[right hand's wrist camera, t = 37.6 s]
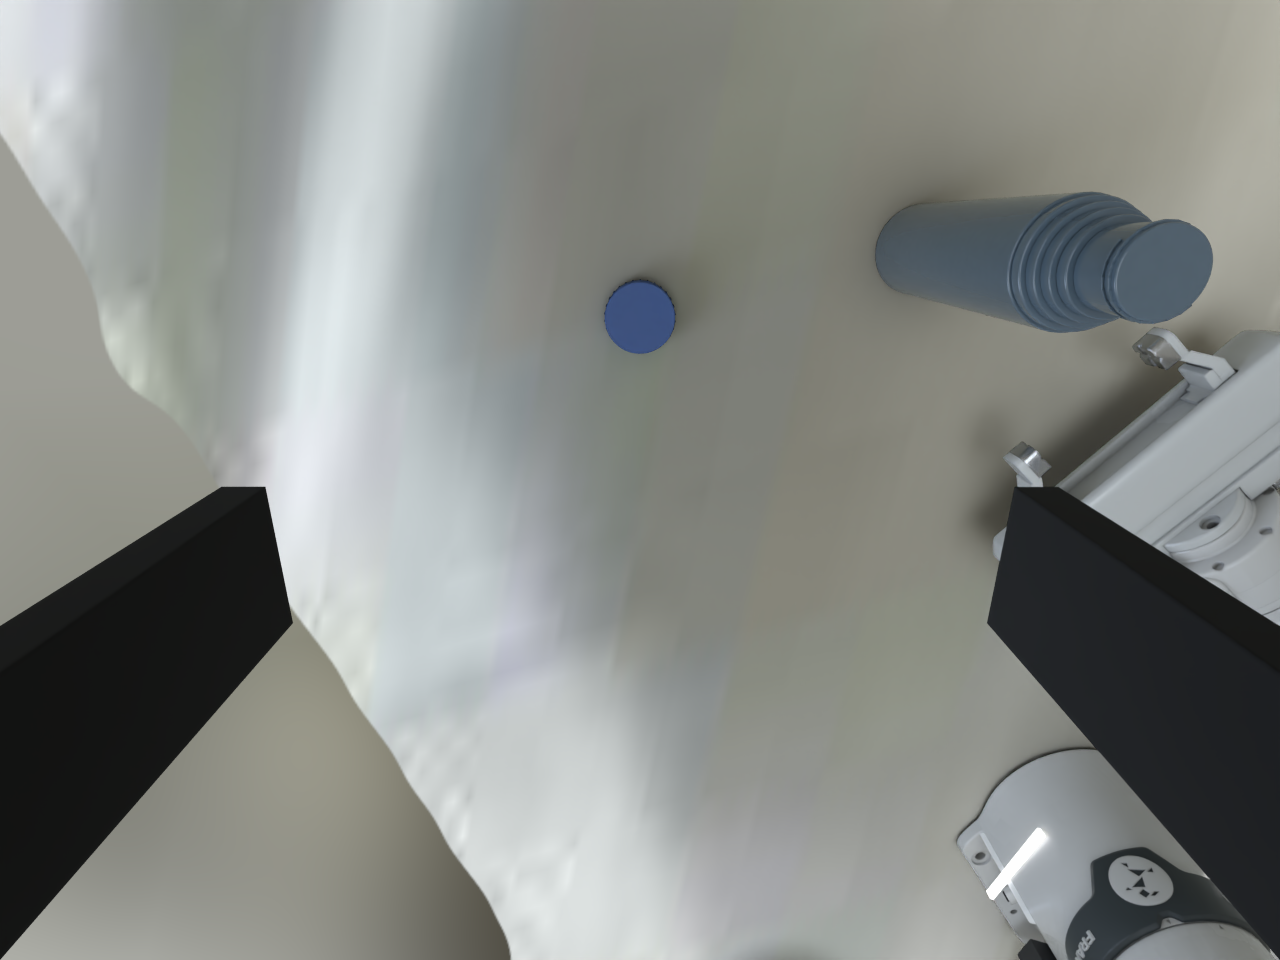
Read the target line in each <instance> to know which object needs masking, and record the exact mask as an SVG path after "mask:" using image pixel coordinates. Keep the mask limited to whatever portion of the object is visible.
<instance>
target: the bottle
mask: <svg viewBox="0 0 1280 960" xmlns="http://www.w3.org/2000/svg"><path fill="white" fill-rule="evenodd" d="M875 255H876V265H877V268H878V271H879V274H880V276H881V277H882V279H883V280H884V281H885V283H886V284H887V285H888V286H890V287H891V288H892V289H894V290H896V291H898V292H901V293H904V294H908V295H912V296H915V297H919V298H923V299H927V300H931V301H934V302H938V303H942V304H946V305H950V306H953V307H957V308H961V309H965V310H968V311H972V312H976V313H980V314H984V315H987V316H991V317H995V318H999V319H1003V320H1006V321H1010V322H1014V323H1018V324H1021V325H1025V326H1029V327H1033V328H1037V329H1040V330H1044V331H1048V332H1056V333H1066V332H1078V331H1084V330H1088V329H1091V328H1094V327H1097V326H1099V325H1103V324H1105V323H1108V322H1110V321H1113V320H1116V319H1118V318H1122V319H1125V320H1128V321H1131V322H1137V323H1145V324H1155V323H1159V322H1163V321H1168V320H1170V319H1172V318H1174V317H1176V316H1178V315H1181V314H1182V313H1183V312H1184V311H1186V310H1187V309H1188V308H1189V307H1191V306H1192V305H1191V304H1192V303H1193V302H1194V301H1195V300H1196V299H1197V298H1198V297H1199V295H1200V294H1201V293H1202V291H1203V290H1204V288H1205V286H1206V284H1207V282H1208V280H1209V277H1210V275H1211V271H1212V265H1213V254H1212V248H1211V245H1210V243H1209V241H1208V239H1207V237H1206V236H1205V235H1204V234H1203V233H1202V232H1201V231H1200V230H1199V229H1198V228H1196V227H1195V226H1192V225H1191V224H1190V223H1187V222H1184V221H1181V220H1176V219H1163V220H1158V221H1154V222H1152V221H1151V220H1150V219H1149V218H1148V217H1147V216H1145V215H1144V214H1143V213H1142V212H1141V211H1139V210H1138V209H1136V208H1135V207H1134V206H1133V205H1131V204H1130V203H1128V202H1127V201H1125V200H1123V199H1121V198H1118V197H1114V196H1111V195H1108V194H1104V193H1099V192H1077V193H1063V194H1049V195H1035V196H1022V197H1008V198H994V199H980V200H966V201H952V202H938V203H924V204H916V205H912V206H909V207H907V208H905V209H903V210H901V211H900V212H898V213H897V214H896V215H894V216H893V217H892V218H891V219H890V220H889V221H888V223H887V224H886V225H885V227H884V228H883V230H882V232H881V234H880V236H879V239H878V242H877V246H876V254H875Z"/></svg>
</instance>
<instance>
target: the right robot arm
mask: <svg viewBox="0 0 1280 960" xmlns="http://www.w3.org/2000/svg"><path fill="white" fill-rule="evenodd" d="M292 623H293V621H292V616H291V611H290V607H289V602H288V597H287V592H286V587H285V582H284V577H283V572H282V567H281V562H280V557H279V552H278V547H277V542H276V537H275V532H274V527H273V522H272V518H271V513H270V508H269V503H268V498H267V493H266V488H265V487H221V488H219V489H217V490H216V491H214V492H213V493H211V494H209V495H208V496H206V497H205V498H203V499H201V500H200V501H198V502H197V503H195V504H193V505H192V506H190V507H189V508H187V509H186V510H184V511H182V512H181V513H179V514H178V515H176V516H174V517H173V518H171V519H170V520H168V521H166V522H165V523H163V524H162V525H160V526H159V527H157V528H155V529H154V530H152V531H151V532H149V533H147V534H146V535H144V536H143V537H141V538H139V539H138V540H136V541H135V542H133V543H132V544H130V545H128V546H127V547H125V548H124V549H122V550H120V551H119V552H117V553H116V554H114V555H112V556H111V557H109V558H108V559H106V560H104V561H103V562H101V563H100V564H98V565H96V566H95V567H93V568H92V569H90V570H89V571H87V572H85V573H84V574H82V575H81V576H79V577H77V578H76V579H74V580H73V581H71V582H69V583H68V584H66V585H65V586H63V587H61V588H60V589H58V590H57V591H55V592H54V593H52V594H50V595H49V596H47V597H46V598H44V599H42V600H41V601H39V602H38V603H36V604H34V605H33V606H31V607H30V608H28V609H27V610H25V611H23V612H22V613H20V614H19V615H17V616H15V617H14V618H12V619H11V620H9V621H7V622H6V623H4V624H3V625H1V626H0V959H1V958H2V957H3V956H4V955H5V954H6V952H7V951H8V950H9V949H10V948H11V947H12V946H13V944H14V943H15V942H16V941H17V940H18V939H19V937H20V936H21V935H22V934H23V933H24V932H25V931H26V929H27V928H28V927H29V926H30V925H31V924H32V923H33V921H34V920H35V919H36V918H37V917H38V916H39V914H40V913H41V912H42V911H43V910H44V909H45V908H46V906H47V905H48V904H49V903H50V902H51V901H52V900H53V898H54V897H55V896H56V895H57V894H58V893H59V891H60V890H61V889H62V888H63V887H64V886H65V885H66V883H67V882H68V881H69V880H70V879H71V878H72V877H73V875H74V874H75V873H76V872H77V871H78V870H79V868H80V867H81V866H82V865H83V864H84V863H85V862H86V860H87V859H88V858H89V857H90V856H91V855H92V853H93V852H94V851H95V850H96V849H97V848H98V847H99V845H100V844H101V843H102V842H103V841H104V840H105V839H106V837H107V836H108V835H109V834H110V833H111V832H112V831H113V829H114V828H115V827H116V826H117V825H118V824H119V822H120V821H121V820H122V819H123V818H124V817H125V816H126V814H127V813H128V812H129V811H130V810H131V809H132V808H133V806H134V805H135V804H136V803H137V802H138V801H139V799H140V798H141V797H142V796H143V795H144V794H145V793H146V791H147V790H148V789H149V788H150V787H151V786H152V785H153V783H154V782H155V781H156V780H157V779H158V778H159V776H160V775H161V774H162V773H163V772H164V771H165V770H166V768H167V767H168V766H169V765H170V764H171V763H172V761H173V760H174V759H175V758H176V757H177V756H178V755H179V753H180V752H181V751H182V750H183V749H184V748H185V747H186V745H187V744H188V743H189V742H190V741H191V740H192V738H193V737H194V736H195V735H196V734H197V733H198V731H199V730H200V729H201V728H202V727H203V726H204V725H205V724H206V722H207V721H208V720H209V719H210V718H211V717H212V715H213V714H214V713H215V712H216V711H217V710H218V709H219V707H220V706H221V705H222V704H223V703H224V702H225V701H226V699H227V698H228V697H229V696H230V695H231V694H232V692H233V691H234V690H235V689H236V688H237V687H238V686H239V684H240V683H241V682H242V681H243V680H244V679H245V678H246V676H247V675H248V674H249V673H250V672H251V671H252V669H253V668H254V667H255V666H256V665H257V664H258V663H259V661H260V660H261V659H262V658H263V657H264V656H265V655H266V653H267V652H268V651H269V650H270V649H271V648H272V646H273V645H274V644H275V643H276V642H277V641H278V640H279V638H280V637H281V636H282V635H283V634H284V633H285V631H286V630H287V629H288V628H289V627H290V626H291V625H292ZM987 623H988V625H989V626H990V627H991V628H992V629H993V630H994V632H995V633H996V634H997V635H998V636H999V637H1000V638H1001V640H1002V641H1003V642H1004V643H1005V644H1006V645H1007V646H1008V648H1009V649H1010V650H1011V651H1012V652H1013V653H1014V655H1015V656H1016V657H1017V658H1018V659H1019V660H1020V661H1021V663H1022V664H1023V665H1024V666H1025V667H1026V668H1027V669H1028V671H1029V672H1030V673H1031V674H1032V675H1033V676H1034V678H1035V679H1036V680H1037V681H1038V682H1039V683H1040V684H1041V686H1042V687H1043V688H1044V689H1045V690H1046V691H1047V692H1048V694H1049V695H1050V696H1051V697H1052V698H1053V699H1054V701H1055V702H1056V703H1057V704H1058V705H1059V706H1060V707H1061V709H1062V710H1063V711H1064V712H1065V713H1066V714H1067V715H1068V717H1069V718H1070V719H1071V720H1072V721H1073V722H1074V724H1075V725H1076V726H1077V727H1078V728H1079V729H1080V730H1081V732H1082V733H1083V734H1084V735H1085V736H1086V737H1087V738H1088V740H1089V741H1090V742H1091V743H1092V744H1093V745H1094V747H1095V748H1096V749H1097V750H1098V751H1099V752H1100V753H1101V755H1102V756H1103V757H1104V758H1105V759H1106V760H1107V762H1108V763H1109V764H1110V765H1111V766H1112V767H1113V768H1114V770H1115V771H1116V772H1117V773H1118V774H1119V775H1120V776H1121V778H1122V779H1123V780H1124V781H1125V782H1126V783H1127V785H1128V786H1129V787H1130V788H1131V789H1132V790H1133V791H1134V793H1135V794H1136V795H1137V796H1138V797H1139V798H1140V799H1141V801H1142V802H1143V803H1144V804H1145V805H1146V806H1147V808H1148V809H1149V810H1150V811H1151V812H1152V813H1153V814H1154V816H1155V817H1156V818H1157V819H1158V820H1159V821H1160V822H1161V824H1162V825H1163V826H1164V827H1165V828H1166V829H1167V831H1168V832H1169V833H1170V834H1171V835H1172V836H1173V837H1174V839H1175V840H1176V841H1177V842H1178V843H1179V844H1180V845H1181V847H1182V848H1183V849H1184V850H1185V851H1186V852H1187V854H1188V855H1189V856H1190V857H1191V858H1192V859H1193V860H1194V862H1195V863H1196V864H1197V865H1198V866H1199V867H1200V868H1201V870H1202V871H1203V872H1204V873H1205V874H1206V875H1207V877H1208V878H1209V879H1210V880H1211V881H1212V882H1213V883H1214V885H1215V886H1216V887H1217V888H1218V889H1219V890H1220V891H1221V893H1222V894H1223V895H1224V896H1225V897H1226V898H1227V900H1228V901H1229V902H1230V903H1231V904H1232V905H1233V906H1234V908H1235V909H1236V910H1237V911H1238V912H1239V913H1240V914H1241V916H1242V917H1243V918H1244V919H1245V920H1246V921H1247V923H1248V924H1249V925H1250V926H1251V927H1252V928H1253V929H1254V931H1255V932H1256V933H1257V934H1258V935H1259V936H1260V937H1261V939H1262V940H1263V941H1264V942H1265V943H1266V944H1267V946H1268V947H1269V948H1270V949H1271V950H1272V951H1273V952H1274V954H1275V955H1276V956H1277V957H1278V958H1279V959H1280V626H1279V625H1277V624H1276V623H1274V622H1273V621H1271V620H1269V619H1268V618H1266V617H1265V616H1263V615H1261V614H1260V613H1258V612H1257V611H1255V610H1254V609H1252V608H1250V607H1249V606H1247V605H1246V604H1244V603H1242V602H1241V601H1239V600H1238V599H1236V598H1234V597H1233V596H1231V595H1230V594H1228V593H1226V592H1225V591H1223V590H1222V589H1220V588H1219V587H1217V586H1215V585H1214V584H1212V583H1211V582H1209V581H1207V580H1206V579H1204V578H1203V577H1201V576H1199V575H1198V574H1196V573H1195V572H1193V571H1191V570H1190V569H1188V568H1187V567H1185V566H1184V565H1182V564H1180V563H1179V562H1177V561H1176V560H1174V559H1172V558H1171V557H1169V556H1168V555H1166V554H1164V553H1163V552H1161V551H1160V550H1158V549H1156V548H1155V547H1153V546H1152V545H1150V544H1149V543H1147V542H1145V541H1144V540H1142V539H1141V538H1139V537H1137V536H1136V535H1134V534H1133V533H1131V532H1129V531H1128V530H1126V529H1125V528H1123V527H1122V526H1120V525H1118V524H1117V523H1115V522H1114V521H1112V520H1110V519H1109V518H1107V517H1106V516H1104V515H1102V514H1101V513H1099V512H1098V511H1096V510H1094V509H1093V508H1091V507H1090V506H1088V505H1087V504H1085V503H1083V502H1082V501H1080V500H1079V499H1077V498H1075V497H1074V496H1072V495H1071V494H1069V493H1067V492H1066V491H1064V490H1063V489H1061V488H1059V487H1015V488H1014V493H1013V498H1012V503H1011V508H1010V513H1009V518H1008V522H1007V527H1006V532H1005V537H1004V542H1003V547H1002V552H1001V557H1000V562H999V567H998V572H997V577H996V582H995V587H994V592H993V597H992V602H991V607H990V611H989V616H988V621H987Z"/></svg>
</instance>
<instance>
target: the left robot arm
mask: <svg viewBox="0 0 1280 960" xmlns="http://www.w3.org/2000/svg"><path fill="white" fill-rule="evenodd" d="M1132 348H1133V349H1134V351H1135V352H1138V353H1140V358H1141V359H1142V360H1143V361H1144V362H1145V364H1147V365H1151V366H1158V367H1159V368H1161V369H1165V370H1168V369H1169V368H1170V367H1171V366H1173V365H1174V364H1175V363H1176V362H1178V361H1179V360H1180V361H1184V362H1186V363H1184V364H1183V365H1181V366H1180V367H1179V369H1178V371H1179V372H1180V373H1181V374H1182V376H1183V377H1184V379H1183V380H1182V381H1181V382H1179V383H1178V384H1177V385H1176V386H1175V387H1173V388H1172V389H1171V390H1170V391H1169V392H1167V393H1166V394H1165V395H1164V396H1163V397H1161V398H1160V399H1159V400H1158V401H1157V402H1155V403H1154V404H1153V405H1152V406H1151V407H1149V408H1148V409H1147V410H1146V411H1145V412H1143V413H1142V414H1141V415H1140V416H1139V417H1137V418H1136V419H1135V420H1134V421H1133V422H1131V423H1130V424H1129V425H1128V426H1127V427H1125V428H1124V429H1123V430H1122V431H1121V432H1119V433H1118V434H1117V435H1116V436H1115V437H1113V438H1112V439H1111V440H1110V441H1109V442H1107V443H1106V444H1105V445H1104V446H1103V447H1101V448H1100V449H1099V450H1098V451H1097V452H1095V453H1094V454H1093V455H1092V456H1091V457H1089V458H1088V459H1087V460H1086V461H1085V462H1083V463H1082V464H1081V465H1080V466H1079V467H1077V468H1076V469H1075V470H1074V471H1073V472H1071V473H1070V474H1069V475H1068V476H1067V477H1065V478H1064V479H1063V480H1062V481H1061V482H1059V483H1058V484H1057V485H1056V486H1055V487H1059V488H1061V489H1063V490H1064V491H1066V492H1067V493H1069V494H1071V495H1072V496H1074V497H1075V498H1077V499H1079V500H1080V501H1082V502H1083V503H1085V504H1087V505H1088V506H1090V507H1091V508H1093V509H1094V510H1096V511H1098V512H1099V513H1101V514H1102V515H1104V516H1106V517H1107V518H1109V519H1110V520H1112V521H1114V522H1115V523H1117V524H1118V525H1120V526H1122V527H1123V528H1125V529H1126V530H1128V531H1129V532H1131V533H1133V534H1134V535H1136V536H1137V537H1139V538H1141V539H1142V540H1144V541H1145V542H1147V543H1149V544H1150V545H1152V546H1153V547H1155V548H1156V549H1158V550H1160V551H1161V552H1163V553H1164V554H1166V555H1168V556H1169V557H1171V558H1172V559H1174V560H1176V561H1177V562H1179V563H1180V564H1182V565H1184V566H1185V567H1187V568H1188V569H1190V570H1191V571H1193V572H1195V573H1196V574H1198V575H1199V576H1201V577H1203V578H1204V579H1206V580H1207V581H1209V582H1211V583H1212V584H1214V585H1215V586H1217V587H1219V588H1220V589H1222V590H1223V591H1225V592H1226V593H1228V594H1230V595H1231V596H1233V597H1234V598H1236V599H1238V600H1239V601H1241V602H1242V603H1244V604H1246V605H1247V606H1249V607H1250V608H1252V609H1254V610H1255V611H1257V612H1258V613H1260V614H1261V615H1263V616H1265V617H1266V618H1268V619H1269V620H1271V621H1273V622H1274V623H1276V624H1277V625H1279V626H1280V494H1279V493H1278V492H1277V490H1278V489H1279V488H1280V332H1276V331H1266V330H1246V331H1242V332H1240V333H1239V334H1237V335H1236V336H1235V337H1233V338H1232V339H1231V340H1230V341H1229V342H1227V343H1226V344H1225V345H1224V346H1223V347H1221V348H1220V349H1219V350H1218V351H1217V352H1215V353H1214V354H1213V355H1209V354H1205V353H1200V352H1196V351H1192V350H1188V349H1186V347H1185V346H1184V345H1183V344H1182V342H1181V341H1180V340H1179V339H1178V338H1177V336H1176V335H1175V334H1174V333H1172V332H1171V331H1169V330H1167V329H1161V328H1156V327H1154V328H1152V329H1151V330H1150V331H1149V332H1148V333H1147V334H1146V335H1144V336H1143V337H1142V338H1141V339H1140V340H1139V341H1137V342H1136V343H1135V344H1134V345H1133V346H1132ZM1003 458H1004V460H1005V461H1006V462H1007V463H1008V464H1009V465H1010V466H1011V467H1012V468H1013V469H1014V470H1015V471H1016V472H1017V473H1018V474H1017V475H1016V477H1017V487H1043V482H1042V477H1041V476H1042V475H1043V474H1044V473H1046V472H1047V471H1048V470H1049V469H1050V468H1051V465H1050V464H1049V463H1048V462H1047V461H1046V460H1045V459H1043V458H1041V455H1040V454H1039V453H1038V452H1037V451H1036V450H1035V449H1034V448H1033V447H1031V446H1030V445H1026V443H1024V442H1021V443H1019V444H1018V445H1017V446H1016V447H1015V448H1013V449H1012V450H1011V451H1010V452H1009V453H1008V454H1007V455H1005V456H1004V457H1003ZM1006 527H1007V526H1006ZM1006 527H1005V528H1004V529H1003V530H1001V531H1000V532H999V533H998V534H997V535H996V536H995V537H994V539H993V555H994V556H995V557H996V558H997V559H998V560H999V561H1000V557H1001V552H1002V547H1003V542H1004V537H1005V532H1006ZM957 845H958V847H959V849H960V850H961V852H962V853H963V855H964V856H965V858H966V859H967V861H968V862H969V864H970V865H971V867H972V868H973V870H974V871H975V873H976V875H977V876H978V878H979V879H980V881H981V882H982V884H983V885H984V887H985V888H986V890H987V893H988V895H989V897H990V899H993V900H994V902H995V903H996V905H997V906H998V908H999V909H1000V911H1001V912H1002V914H1003V915H1004V917H1005V918H1006V920H1007V921H1008V923H1009V924H1010V926H1011V927H1012V929H1013V930H1014V932H1015V933H1016V935H1017V936H1018V938H1019V939H1020V940H1021V941H1022V942H1023V943H1025V944H1026V945H1025V946H1024V947H1023V948H1022V949H1021V951H1020V952H1019V953H1018V957H1019V958H1020V960H1276V959H1275V958H1274V957H1273V956H1272V955H1271V954H1270V948H1269V947H1268V946H1267V944H1266V943H1265V942H1264V941H1263V940H1262V939H1261V937H1260V936H1259V935H1258V934H1257V933H1256V932H1255V931H1254V929H1253V928H1252V927H1251V926H1250V925H1249V924H1248V923H1247V921H1246V920H1245V919H1244V918H1243V917H1242V916H1241V914H1240V913H1239V912H1238V911H1237V910H1236V909H1235V908H1234V906H1233V905H1232V904H1231V903H1230V902H1229V901H1228V900H1227V898H1226V897H1225V896H1224V895H1223V894H1222V893H1221V891H1220V890H1219V889H1218V888H1217V887H1216V886H1215V885H1214V883H1213V882H1212V881H1211V880H1210V879H1209V878H1208V877H1207V875H1206V874H1205V873H1204V872H1203V871H1202V870H1201V868H1200V867H1199V866H1198V865H1197V864H1196V863H1195V862H1194V860H1193V859H1192V858H1191V857H1190V856H1189V855H1188V854H1187V852H1186V851H1185V850H1184V849H1183V848H1182V847H1181V845H1180V844H1179V843H1178V842H1177V841H1176V840H1175V839H1174V837H1173V836H1172V835H1171V834H1170V833H1169V832H1168V831H1167V829H1166V828H1165V827H1164V826H1163V825H1162V824H1161V822H1160V821H1159V820H1158V819H1157V818H1156V817H1155V816H1154V814H1153V813H1152V812H1151V811H1150V810H1149V809H1148V808H1147V806H1146V805H1145V804H1144V803H1143V802H1142V801H1141V799H1140V798H1139V797H1138V796H1137V795H1136V794H1135V793H1134V791H1133V790H1132V789H1131V788H1130V787H1129V786H1128V785H1127V783H1126V782H1125V781H1124V780H1123V779H1122V778H1121V776H1120V775H1119V774H1118V773H1117V772H1116V771H1115V770H1114V768H1113V767H1112V766H1111V765H1110V764H1109V763H1108V762H1107V760H1106V759H1105V758H1104V757H1103V756H1102V755H1101V753H1100V752H1099V751H1098V750H1091V749H1077V750H1067V751H1062V752H1057V753H1053V754H1050V755H1047V756H1044V757H1041V758H1038V759H1036V760H1034V761H1032V762H1030V763H1028V764H1026V765H1024V766H1022V767H1021V768H1019V769H1018V770H1016V771H1015V772H1013V773H1012V774H1011V775H1009V776H1008V777H1007V778H1006V779H1005V780H1004V781H1003V782H1001V783H1000V785H999V786H998V787H997V788H996V789H995V790H994V792H993V793H992V794H991V796H990V797H989V799H988V801H987V803H986V805H985V807H984V809H983V811H982V813H981V815H980V816H979V818H978V819H977V820H976V821H975V822H974V823H972V824H971V825H970V826H969V827H968V828H967V829H966V830H965V831H964V832H963V833H962V834H961V835H960V836H959V838H958V840H957Z"/></svg>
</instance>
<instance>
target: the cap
mask: <svg viewBox="0 0 1280 960" xmlns="http://www.w3.org/2000/svg"><path fill="white" fill-rule="evenodd" d="M604 314H605V320H604V321H605V324H606V329H607V331H608V333H609V336H610V337H611V339H612V340H613V342H615V343H616V344H617V345H618V346H619V347H621V348H622V349H624V350H626V351H628V352H632V353H638V354H640V353H648V352H652V351H654V350H656V349H658V348H659V347H661V346H662V345H663V344H664V343H665V342H666V341H667V340H668V338H669V337H670V336H671V333H672V331H673V330H674V324H675V315H676V314H675V312H674V305H673V304H672V302H671V298H669V296H668V295H667V292H665V291H664V290H663V289H662V287H661V286H660V287H659V286H658V285H656V284H655V283H652V282H649V281H648V280H647V281H643V280H641V279H640V280H636V281H634V280H632V281H631V282H628V283H627V282H626V283H625V284H624V285H622V286H621V287H620V286H619V288H618V289H617V290H616V291H614V292H613V295H612V296H611V297H610V298H609V302H608V304H607V305H606V311H605V313H604Z"/></svg>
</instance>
